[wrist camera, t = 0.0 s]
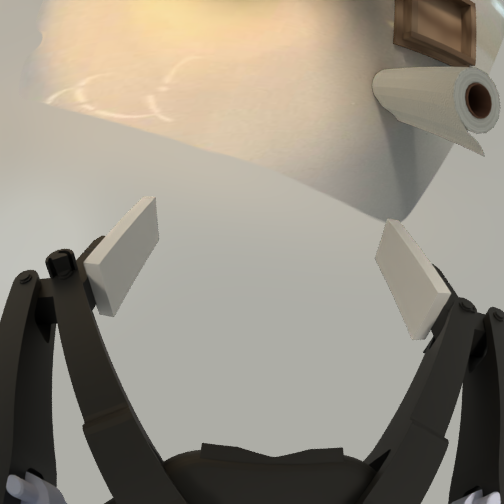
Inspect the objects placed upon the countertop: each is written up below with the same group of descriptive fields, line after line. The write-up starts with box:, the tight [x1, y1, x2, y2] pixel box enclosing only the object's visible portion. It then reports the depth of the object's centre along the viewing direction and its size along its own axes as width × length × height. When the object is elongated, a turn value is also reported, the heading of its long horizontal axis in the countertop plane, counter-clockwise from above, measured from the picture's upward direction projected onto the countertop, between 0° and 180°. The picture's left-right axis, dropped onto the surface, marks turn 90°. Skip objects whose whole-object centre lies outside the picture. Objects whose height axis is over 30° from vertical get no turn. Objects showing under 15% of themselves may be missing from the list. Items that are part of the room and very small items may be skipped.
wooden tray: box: [393, 0, 476, 67], centre depth 24 cm, size 14×14×4 cm
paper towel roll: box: [372, 67, 500, 156], centre depth 25 cm, size 7×6×21 cm
